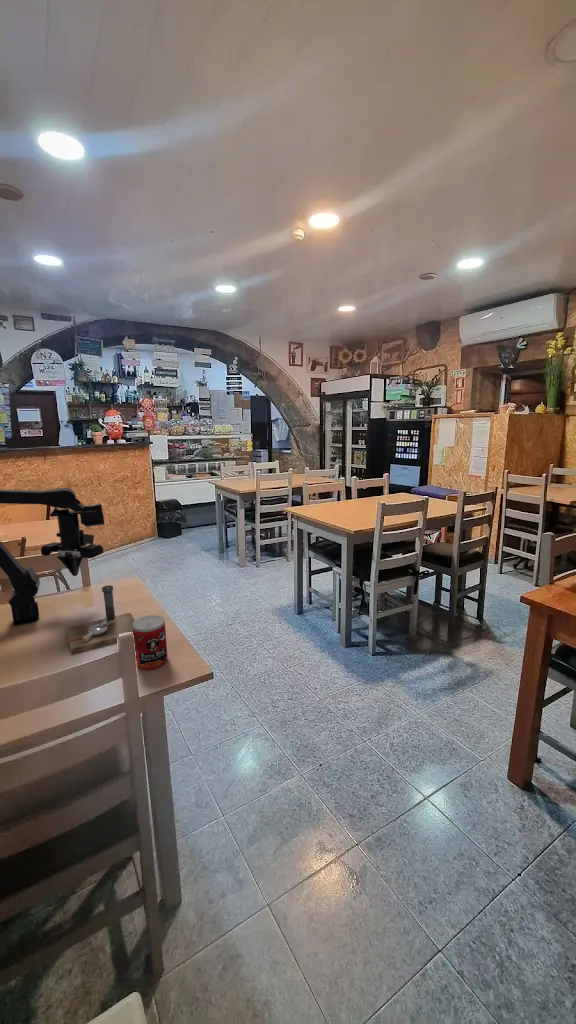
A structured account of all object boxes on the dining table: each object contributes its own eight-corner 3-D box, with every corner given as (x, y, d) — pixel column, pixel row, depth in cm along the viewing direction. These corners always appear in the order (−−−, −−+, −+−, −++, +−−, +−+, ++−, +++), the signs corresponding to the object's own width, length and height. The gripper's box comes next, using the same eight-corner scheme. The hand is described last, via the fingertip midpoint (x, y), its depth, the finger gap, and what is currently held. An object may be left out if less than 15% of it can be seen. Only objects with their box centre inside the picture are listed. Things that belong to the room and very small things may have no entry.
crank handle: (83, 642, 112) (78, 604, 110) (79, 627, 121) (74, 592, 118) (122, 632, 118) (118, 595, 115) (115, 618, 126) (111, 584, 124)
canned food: (138, 674, 101) (134, 632, 99) (134, 658, 108) (130, 618, 106) (170, 665, 104) (167, 625, 102) (164, 650, 111) (161, 612, 109)
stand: (68, 654, 110) (68, 649, 109) (64, 633, 121) (63, 627, 121) (141, 635, 119) (141, 629, 119) (130, 616, 131) (130, 611, 131)
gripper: (111, 523, 136) (116, 569, 139) (62, 521, 140) (68, 565, 143) (88, 532, 126) (94, 581, 129) (36, 529, 130) (43, 577, 133)
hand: (75, 575), depth 134 cm, fingers closed
